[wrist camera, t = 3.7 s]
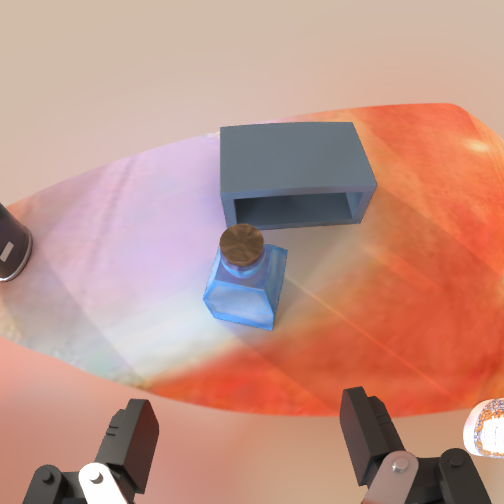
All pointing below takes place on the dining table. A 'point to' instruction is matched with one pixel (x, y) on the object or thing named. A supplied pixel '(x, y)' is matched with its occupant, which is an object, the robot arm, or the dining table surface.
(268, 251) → the perfume bottle
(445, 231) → the dining table surface
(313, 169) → the shelf
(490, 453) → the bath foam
